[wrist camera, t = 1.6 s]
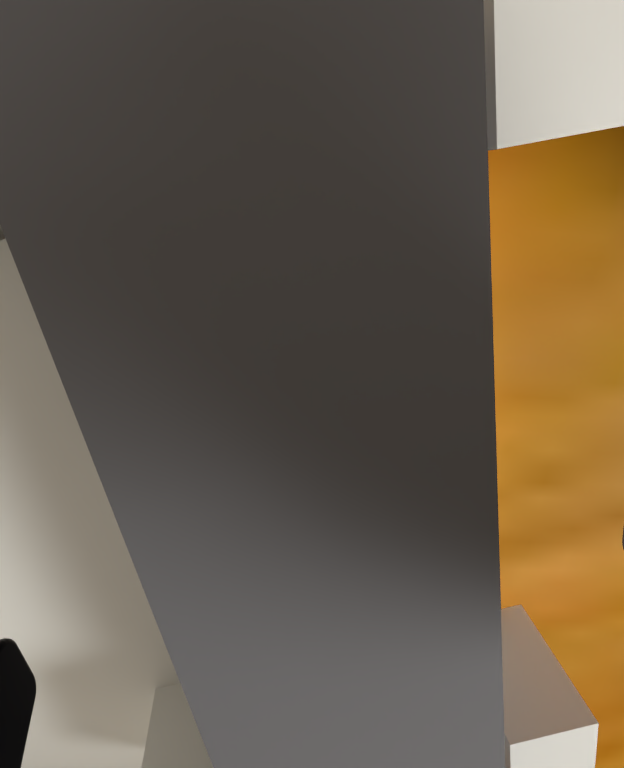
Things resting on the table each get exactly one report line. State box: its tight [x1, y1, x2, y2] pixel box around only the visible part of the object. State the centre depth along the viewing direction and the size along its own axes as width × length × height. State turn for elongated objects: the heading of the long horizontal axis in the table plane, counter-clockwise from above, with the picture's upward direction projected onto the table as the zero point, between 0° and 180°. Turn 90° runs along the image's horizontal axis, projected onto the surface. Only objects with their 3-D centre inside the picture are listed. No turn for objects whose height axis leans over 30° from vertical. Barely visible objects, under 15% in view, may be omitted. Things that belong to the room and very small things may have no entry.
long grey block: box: [0, 0, 505, 768], centre depth 8 cm, size 14×4×4 cm, turn 10°
